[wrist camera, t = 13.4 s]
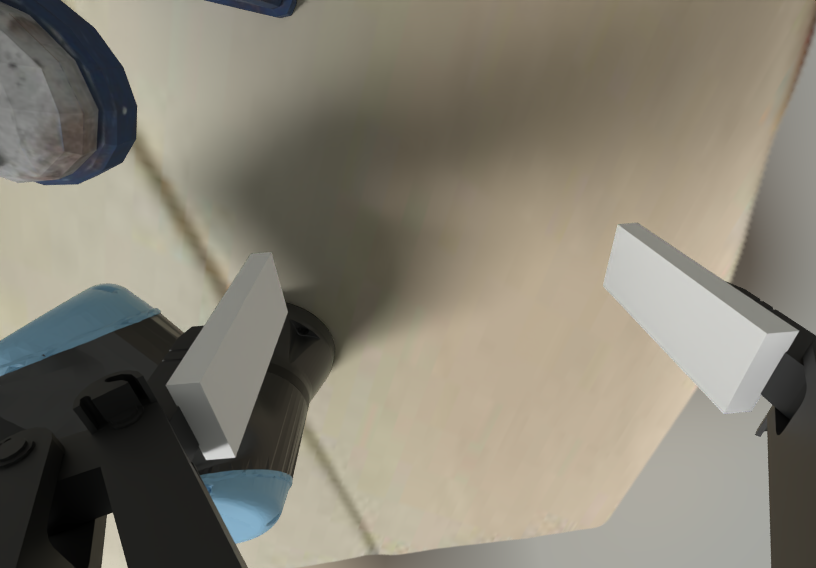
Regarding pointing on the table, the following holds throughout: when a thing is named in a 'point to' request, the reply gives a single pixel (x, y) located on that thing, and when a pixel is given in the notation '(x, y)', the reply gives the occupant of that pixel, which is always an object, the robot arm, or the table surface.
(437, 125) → the table surface
